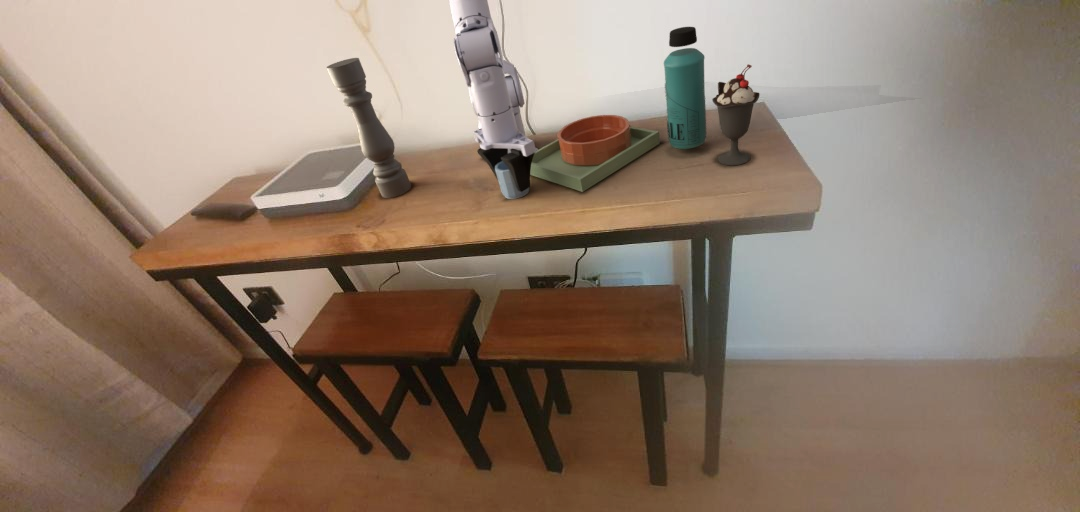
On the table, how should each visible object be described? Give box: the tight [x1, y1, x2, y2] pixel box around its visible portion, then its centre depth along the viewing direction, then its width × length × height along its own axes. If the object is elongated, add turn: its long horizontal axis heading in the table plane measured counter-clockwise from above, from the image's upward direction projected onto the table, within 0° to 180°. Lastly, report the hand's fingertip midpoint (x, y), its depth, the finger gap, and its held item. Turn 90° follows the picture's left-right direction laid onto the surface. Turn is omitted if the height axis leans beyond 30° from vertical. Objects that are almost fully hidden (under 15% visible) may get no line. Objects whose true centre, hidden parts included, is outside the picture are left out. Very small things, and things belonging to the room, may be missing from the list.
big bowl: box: [557, 114, 632, 166], centre depth 90 cm, size 13×13×5 cm
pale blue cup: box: [495, 161, 531, 200], centre depth 83 cm, size 5×5×6 cm
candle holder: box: [326, 57, 412, 199], centre depth 90 cm, size 6×6×25 cm
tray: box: [530, 126, 661, 193], centre depth 90 cm, size 17×20×2 cm
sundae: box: [711, 64, 761, 166], centre depth 74 cm, size 7×7×15 cm
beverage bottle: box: [663, 26, 708, 150], centre depth 79 cm, size 6×7×20 cm
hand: (514, 185), depth 84 cm, fingers closed on pale blue cup, 5 cm apart
